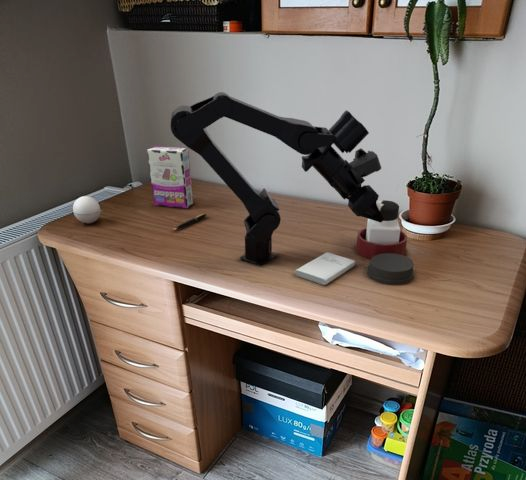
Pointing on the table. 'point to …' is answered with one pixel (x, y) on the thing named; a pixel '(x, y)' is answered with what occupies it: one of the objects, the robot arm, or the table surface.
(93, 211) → the white sphere
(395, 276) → the stand
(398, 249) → the tin
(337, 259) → the hard drive
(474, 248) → the table surface
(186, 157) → the candy bar box
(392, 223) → the medicine bottle
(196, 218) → the fountain pen
